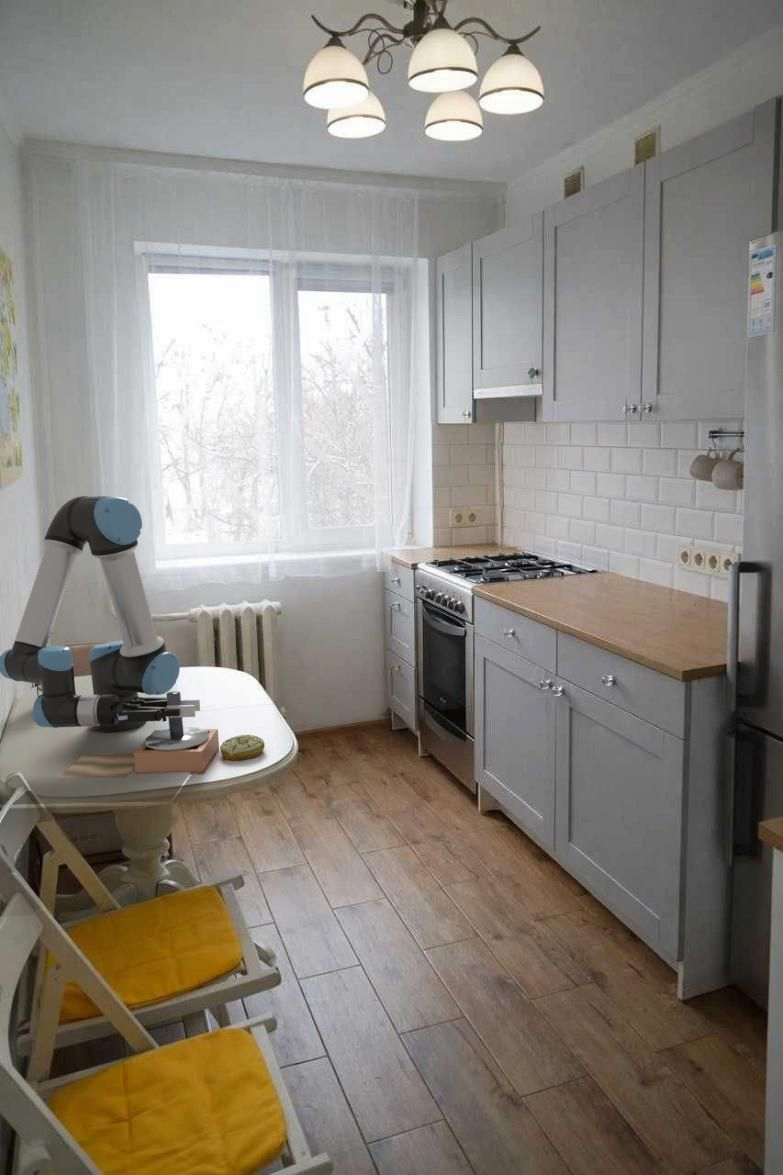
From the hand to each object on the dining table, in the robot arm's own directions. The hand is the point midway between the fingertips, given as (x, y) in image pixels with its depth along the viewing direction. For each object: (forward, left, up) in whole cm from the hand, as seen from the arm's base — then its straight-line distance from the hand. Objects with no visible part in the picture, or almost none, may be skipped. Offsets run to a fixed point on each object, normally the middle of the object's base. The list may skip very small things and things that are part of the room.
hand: (196, 707), depth 213 cm
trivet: (+2, -23, -13) cm, 27 cm away
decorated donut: (-5, +9, -14) cm, 17 cm away
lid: (0, -5, -8) cm, 10 cm away
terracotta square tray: (0, -5, -13) cm, 15 cm away
